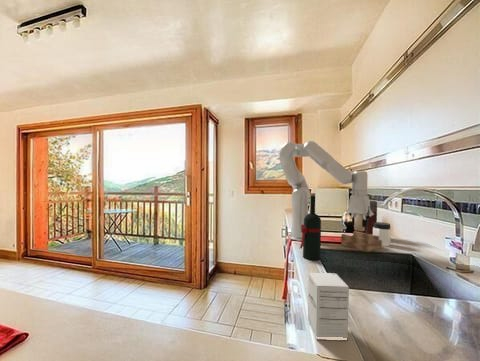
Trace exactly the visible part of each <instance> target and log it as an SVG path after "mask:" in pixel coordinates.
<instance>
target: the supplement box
mask: <svg viewBox="0 0 480 361" xmlns="http://www.w3.org/2000/svg"><path fill="white" fill-rule="evenodd" d="M349 287H350V286H348V285H347V283H346V282H345V281H344V279H342V278H341V277H340V276H339V275H338V273H334V272H333V273H331V272H309V273H308V288H307V289H308V296H307V298H308V299H307V300H308V301H307V321H308V323H309V325H311V326H310V328H311V327H312V328H311V330H312V329H313V330H312V332H313V331H314V332H313V334H314V333H315V335H316V336H317V337H343V338H348V339H349V305H350V303H349V299H350V297H349V296H350V293H349V292H350V288H349ZM315 335H314V336H315Z"/></svg>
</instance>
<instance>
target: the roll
mask: <svg viewBox="0 0 480 361" xmlns="http://www.w3.org/2000/svg"><path fill="white" fill-rule="evenodd" d="M363 220H364V218H363V215H362V214H355V217H354V225H353V227H354V231H355V230H356V231H365V227H363Z"/></svg>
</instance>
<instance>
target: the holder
mask: <svg viewBox="0 0 480 361" xmlns="http://www.w3.org/2000/svg"><path fill="white" fill-rule="evenodd" d="M340 236H341V240H340V241H341V243H340V245H341V246H345V247H349V248H351V249H356V250H360V251H364V252H367V253H371V252H374V251H378V250H379V249H381V248H382V247H383V246H382V240H379V236H376V235H371V234H366V233H361V232H356V231H355V230H354V231H353V232H352V235H349V234H345V233H342V234H341V235H340Z"/></svg>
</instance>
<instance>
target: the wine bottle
mask: <svg viewBox="0 0 480 361" xmlns="http://www.w3.org/2000/svg"><path fill="white" fill-rule="evenodd" d="M309 200H310V201H309V202H310V203H309V212H308V215H306V216H305V218H304V225H301V232H302V241H300V242H301V244H300V246H299V249H300V250H302V258H303V259H304V260H307V261H312V262H317V261H320V260H321V255H322V254H321V250H322V249H321V248H322V240H321V238H322V219H321V217H320V216H319V215H318V214H316V193H311V192H310V197H309Z"/></svg>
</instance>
